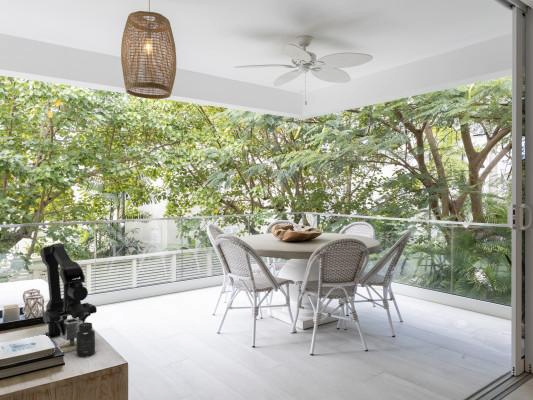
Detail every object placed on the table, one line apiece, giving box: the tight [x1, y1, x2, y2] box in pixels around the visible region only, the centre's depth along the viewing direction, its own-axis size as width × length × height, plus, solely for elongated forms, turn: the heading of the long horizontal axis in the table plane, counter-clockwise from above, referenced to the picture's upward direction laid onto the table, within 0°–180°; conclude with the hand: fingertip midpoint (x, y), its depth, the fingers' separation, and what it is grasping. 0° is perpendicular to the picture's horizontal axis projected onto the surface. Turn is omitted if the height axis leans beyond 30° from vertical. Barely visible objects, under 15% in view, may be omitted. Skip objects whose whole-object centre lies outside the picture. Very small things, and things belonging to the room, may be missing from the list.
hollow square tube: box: [60, 317, 83, 341], centre depth 174 cm, size 6×6×6 cm
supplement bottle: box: [75, 322, 96, 358], centre depth 167 cm, size 7×7×12 cm
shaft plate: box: [58, 338, 77, 353], centre depth 174 cm, size 7×10×5 cm
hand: (71, 333), depth 174 cm, fingers closed on hollow square tube, 6 cm apart
